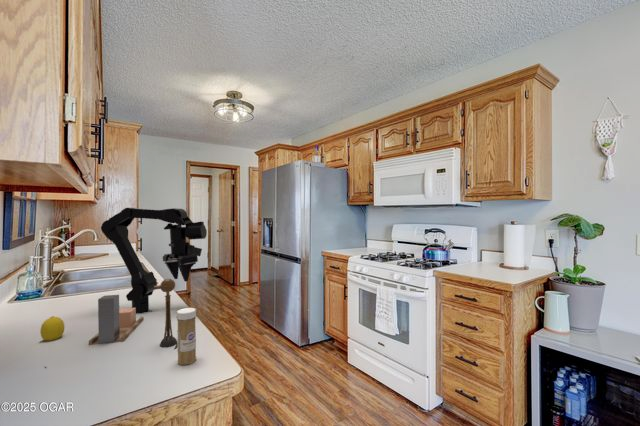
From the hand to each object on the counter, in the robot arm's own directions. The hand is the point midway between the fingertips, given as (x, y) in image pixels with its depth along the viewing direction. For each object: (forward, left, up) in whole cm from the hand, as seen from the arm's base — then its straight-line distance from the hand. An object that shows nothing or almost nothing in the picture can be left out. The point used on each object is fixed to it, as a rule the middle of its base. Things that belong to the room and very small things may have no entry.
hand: (181, 280), depth 119 cm
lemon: (-7, -37, -13) cm, 40 cm away
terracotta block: (-1, -20, -12) cm, 23 cm away
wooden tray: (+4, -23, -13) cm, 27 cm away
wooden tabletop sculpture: (+27, -20, -13) cm, 36 cm away
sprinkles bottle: (+39, -21, -13) cm, 46 cm away
